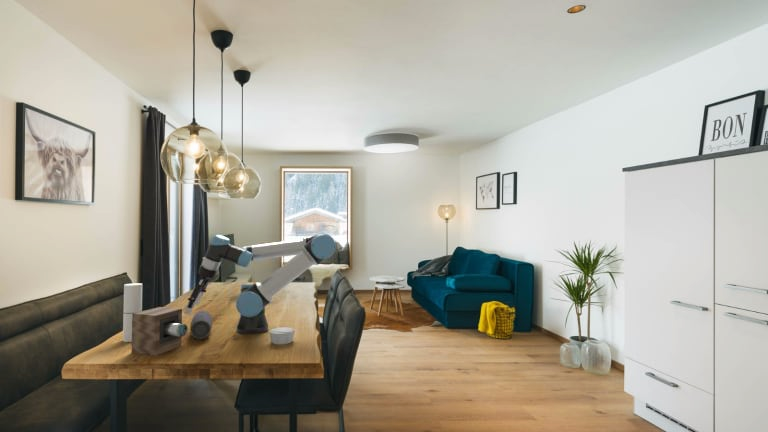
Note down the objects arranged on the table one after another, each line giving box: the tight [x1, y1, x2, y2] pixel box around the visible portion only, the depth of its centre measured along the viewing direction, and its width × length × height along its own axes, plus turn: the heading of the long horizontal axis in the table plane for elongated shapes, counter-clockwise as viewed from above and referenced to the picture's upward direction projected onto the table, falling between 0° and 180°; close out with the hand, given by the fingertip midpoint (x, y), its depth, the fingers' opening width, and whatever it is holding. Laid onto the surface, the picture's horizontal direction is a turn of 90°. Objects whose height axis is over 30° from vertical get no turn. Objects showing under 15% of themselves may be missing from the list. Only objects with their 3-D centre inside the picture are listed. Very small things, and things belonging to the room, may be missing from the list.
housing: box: [131, 306, 183, 357], centre depth 174 cm, size 12×14×16 cm
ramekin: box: [268, 326, 296, 345], centre depth 187 cm, size 11×11×5 cm
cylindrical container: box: [122, 282, 143, 343], centre depth 188 cm, size 7×7×25 cm
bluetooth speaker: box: [189, 310, 213, 339], centre depth 196 cm, size 23×9×10 cm, turn 22°
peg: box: [164, 323, 188, 337], centre depth 172 cm, size 12×5×5 cm, turn 74°
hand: (191, 308), depth 191 cm, fingers open, 13 cm apart
